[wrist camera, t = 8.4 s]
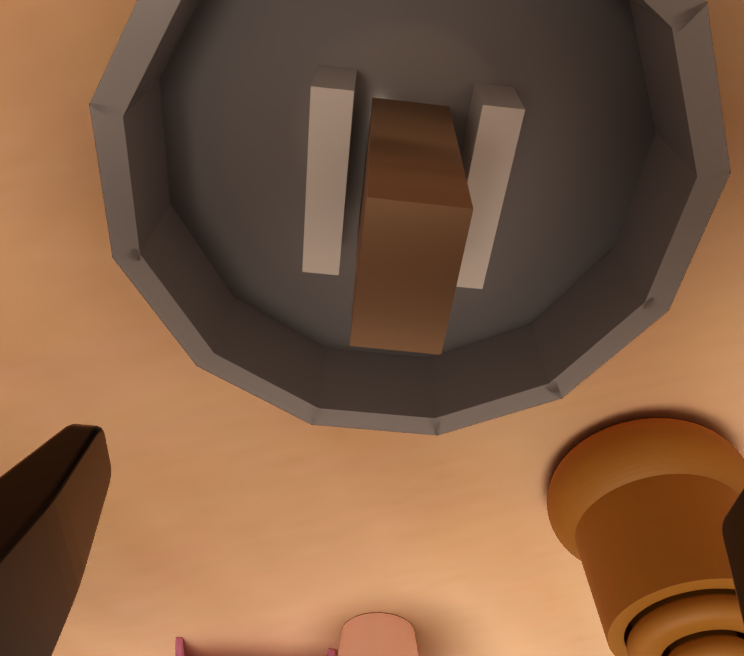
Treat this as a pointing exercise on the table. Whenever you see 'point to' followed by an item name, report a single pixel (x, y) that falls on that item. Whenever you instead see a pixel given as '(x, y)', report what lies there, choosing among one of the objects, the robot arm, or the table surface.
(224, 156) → the dish
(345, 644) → the smoothie
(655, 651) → the ornamental finial
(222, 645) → the table surface
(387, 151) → the wooden rectangular block
